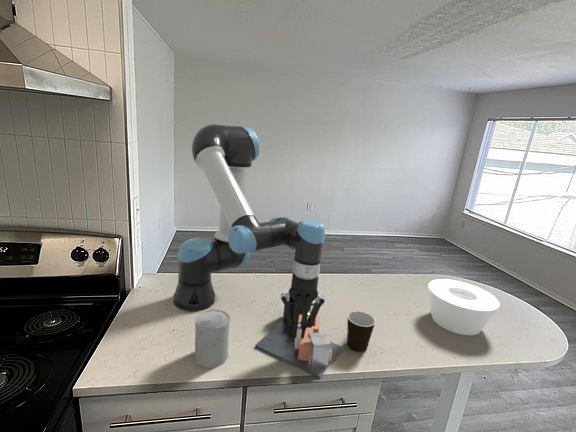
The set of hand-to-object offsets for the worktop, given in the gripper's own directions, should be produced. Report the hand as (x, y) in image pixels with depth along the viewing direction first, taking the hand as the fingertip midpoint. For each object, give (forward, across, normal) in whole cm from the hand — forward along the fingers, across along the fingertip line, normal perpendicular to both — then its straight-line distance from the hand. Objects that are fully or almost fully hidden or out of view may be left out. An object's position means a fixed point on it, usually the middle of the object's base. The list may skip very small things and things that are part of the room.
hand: (296, 346), depth 99 cm
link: (+2, +3, +4) cm, 5 cm away
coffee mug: (+2, +21, +6) cm, 22 cm away
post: (+2, +3, +8) cm, 9 cm away
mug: (+3, +3, +18) cm, 18 cm away
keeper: (+2, +6, -4) cm, 8 cm away
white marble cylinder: (+3, -25, -2) cm, 25 cm away
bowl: (+2, +64, +21) cm, 67 cm away
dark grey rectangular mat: (+2, +1, +2) cm, 4 cm away
